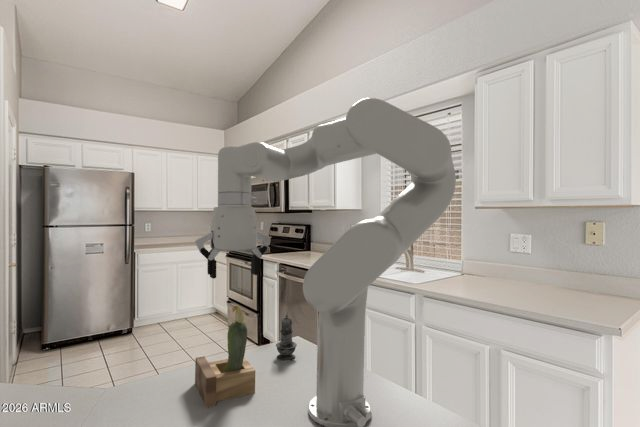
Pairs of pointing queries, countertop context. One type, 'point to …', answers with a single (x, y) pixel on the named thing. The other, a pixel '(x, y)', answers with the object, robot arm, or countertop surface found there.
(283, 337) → the ornate incense burner
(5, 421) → the countertop surface
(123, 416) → the countertop surface
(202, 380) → the wall
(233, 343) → the vegetable
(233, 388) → the socket block
